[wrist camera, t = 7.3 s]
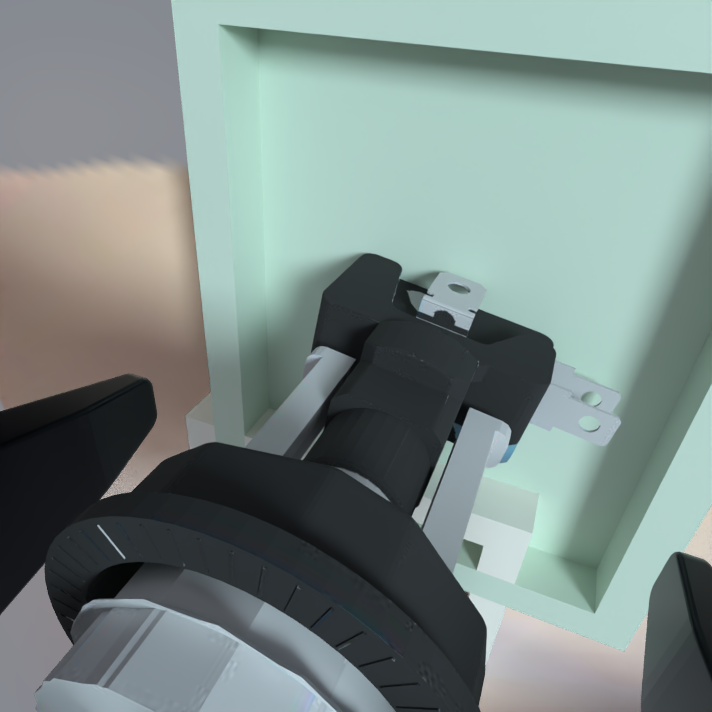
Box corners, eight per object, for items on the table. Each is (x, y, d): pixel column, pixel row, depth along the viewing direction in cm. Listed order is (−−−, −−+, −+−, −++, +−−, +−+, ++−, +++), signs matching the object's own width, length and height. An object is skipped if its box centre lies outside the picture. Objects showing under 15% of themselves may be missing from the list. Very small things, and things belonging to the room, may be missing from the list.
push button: (677, 294, 11) (824, 1046, 3) (562, 475, 14) (485, 1075, 6) (367, 185, 12) (-100, 506, 4) (324, 372, 15) (8, 758, 7)
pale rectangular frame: (542, 478, 15) (532, 533, 13) (464, 705, 22) (452, 759, 20) (223, 380, 18) (185, 415, 16) (242, 607, 25) (216, 648, 23)
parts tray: (935, 6, 8) (1008, 5, 7) (623, 587, 16) (624, 651, 14) (228, -39, 12) (166, -46, 10) (254, 458, 19) (221, 498, 18)
